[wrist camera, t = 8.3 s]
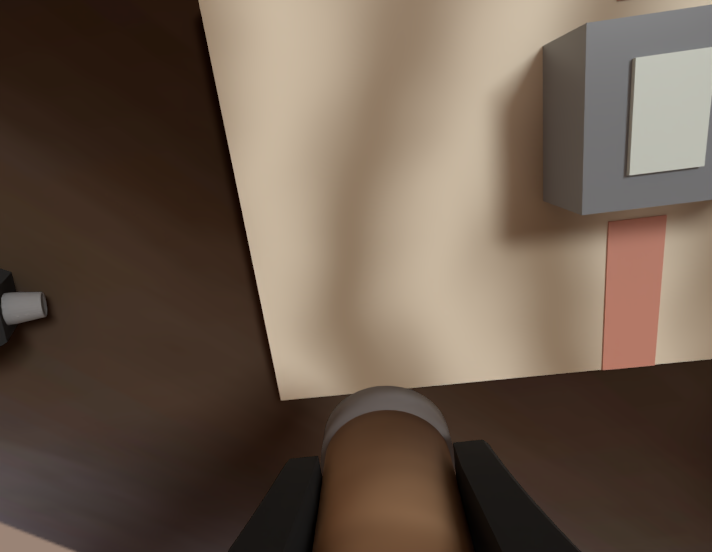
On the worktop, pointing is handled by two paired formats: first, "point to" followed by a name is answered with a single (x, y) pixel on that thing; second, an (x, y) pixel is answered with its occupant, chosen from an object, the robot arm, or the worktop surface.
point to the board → (424, 194)
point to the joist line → (633, 291)
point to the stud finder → (629, 113)
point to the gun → (17, 306)
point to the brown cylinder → (389, 477)
